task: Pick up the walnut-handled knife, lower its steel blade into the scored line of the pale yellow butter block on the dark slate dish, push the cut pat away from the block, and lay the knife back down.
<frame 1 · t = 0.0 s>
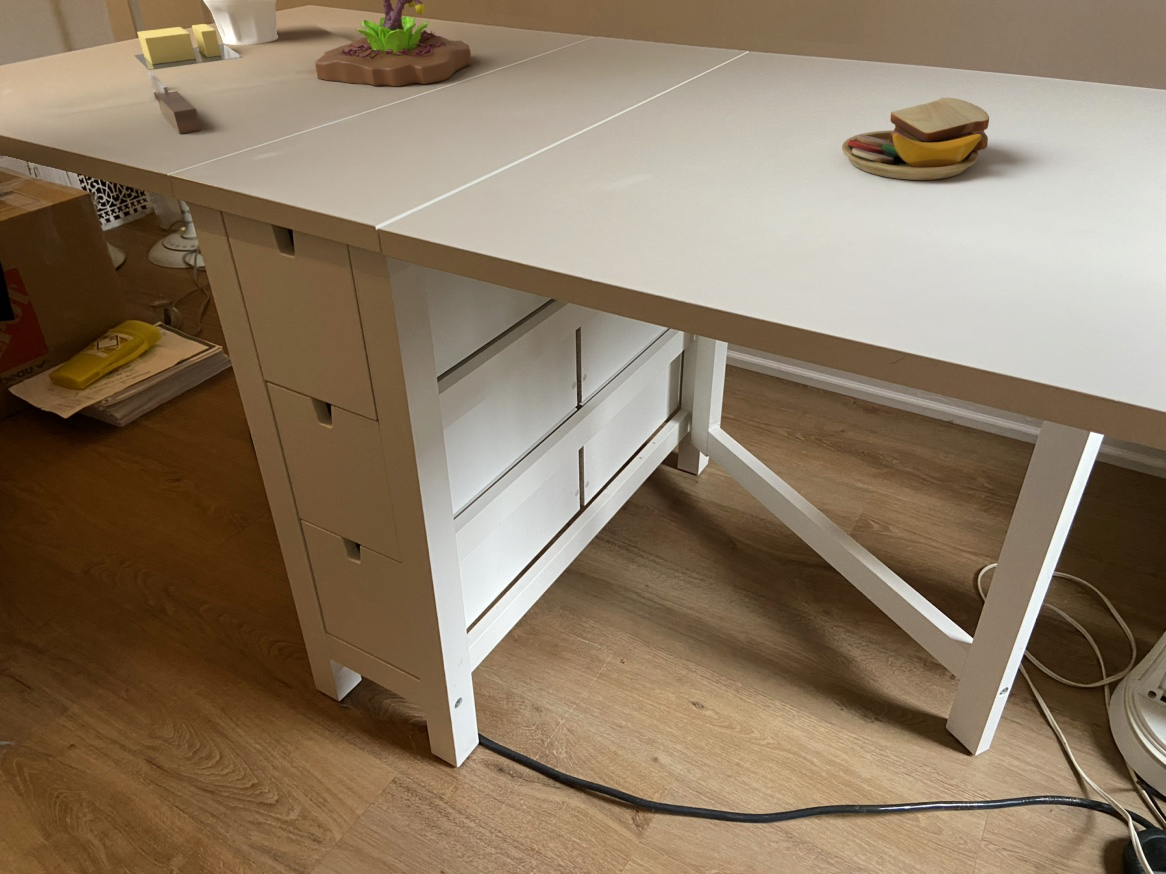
toy sandwich meal: (909, 162, 85), on the table
plant: (396, 70, 123), on the table
knife: (172, 113, 106), on the table
butter slice: (209, 53, 130), point 1 cm above the table, touching butter dish
butter: (170, 58, 127), point 1 cm above the table, touching butter dish
butter dish: (189, 63, 129), on the table
cup: (252, 47, 139), on the table
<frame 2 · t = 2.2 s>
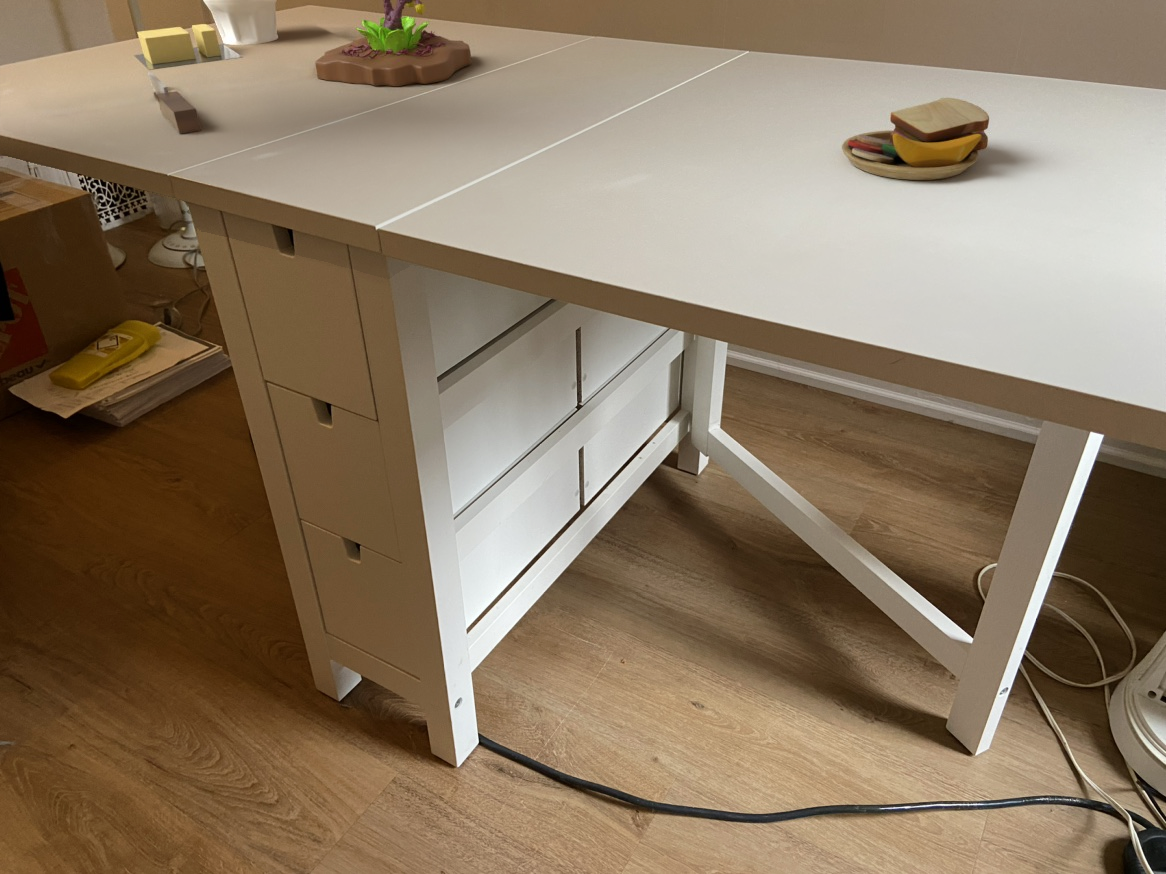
nothing on the table moved.
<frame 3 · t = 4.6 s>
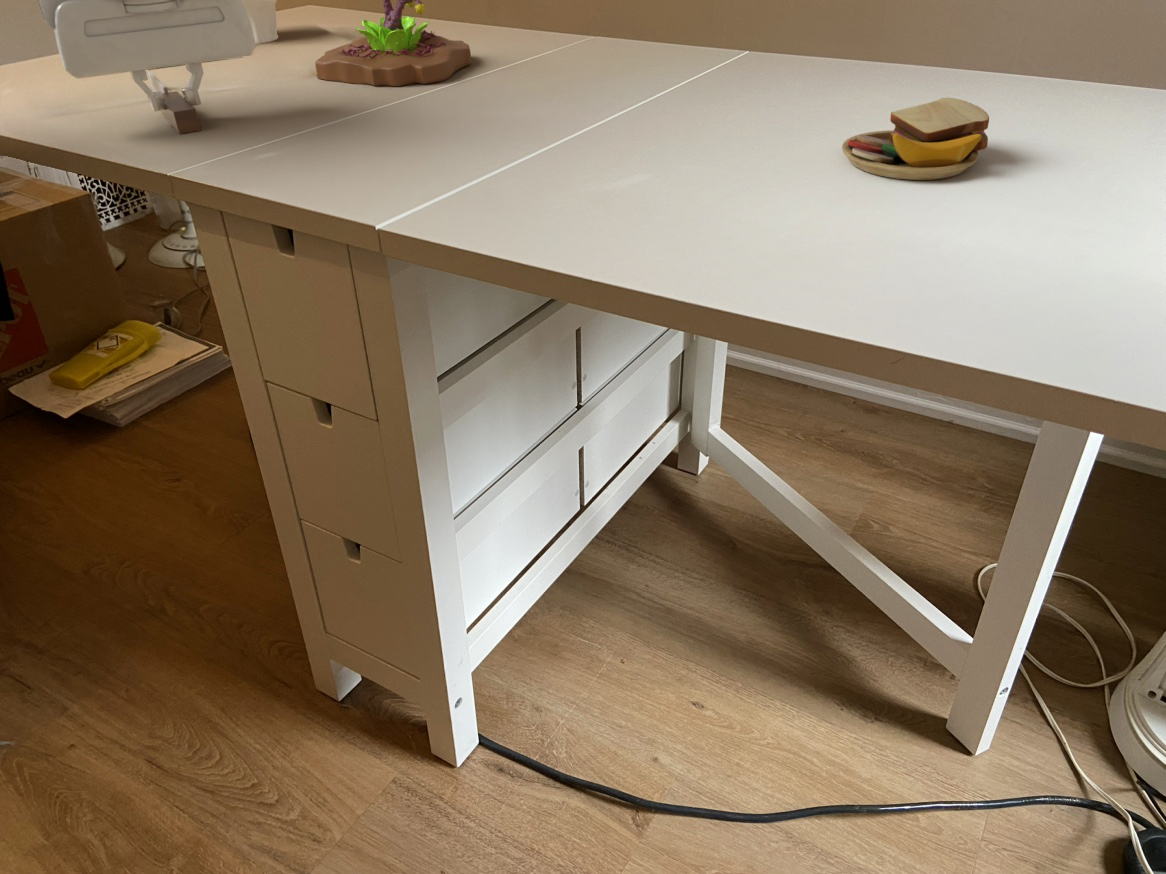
hand: (177, 107, 101), 2 cm above the table, tool pointing down, fingers closed on knife, 2 cm apart
knife: (172, 113, 106), on the table, touching gripper
everything else where it was.
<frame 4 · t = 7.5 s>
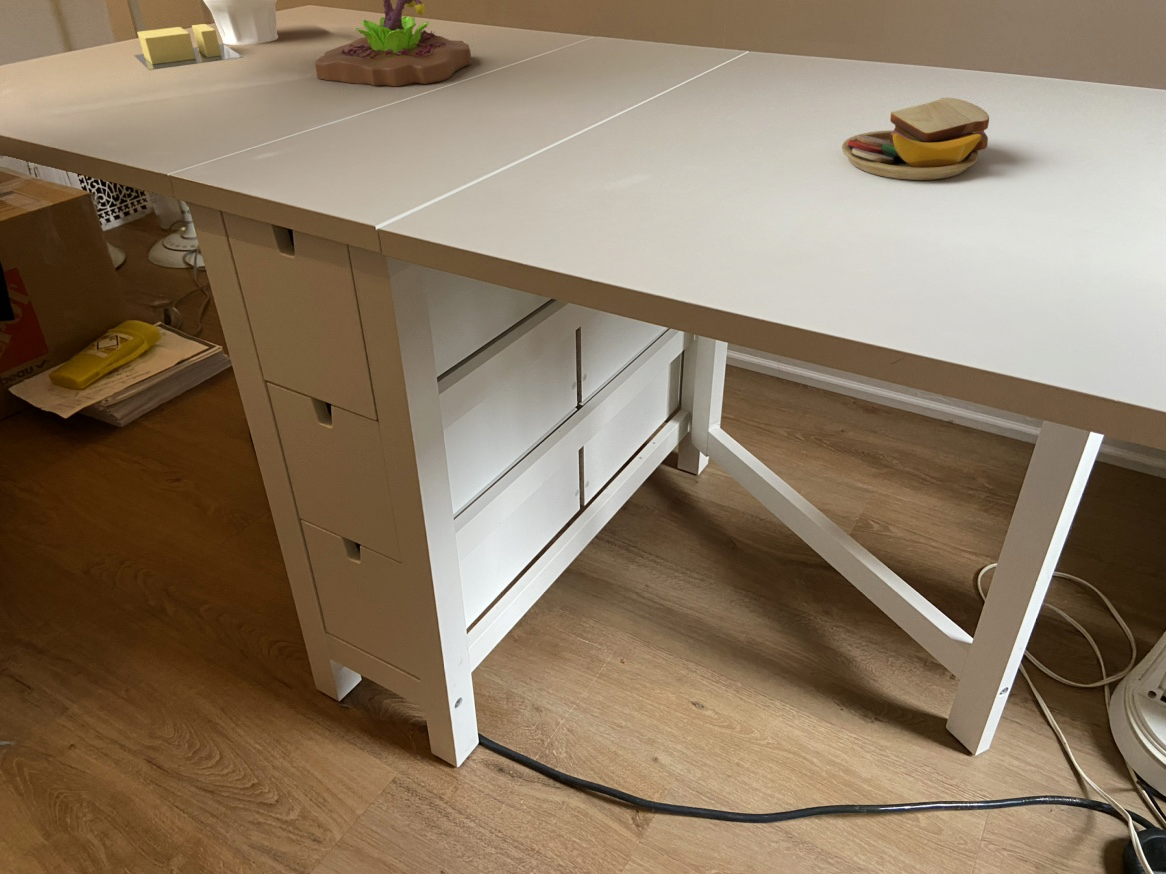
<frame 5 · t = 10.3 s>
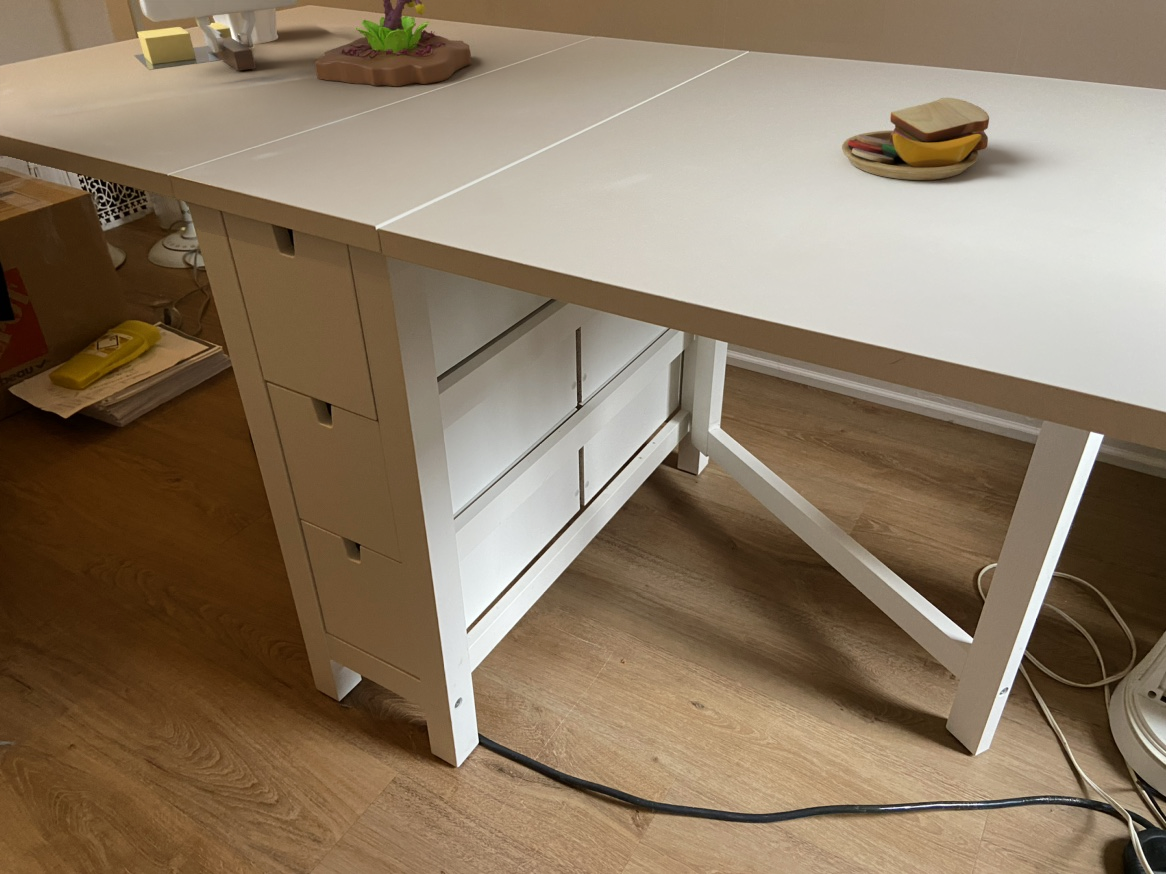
hand: (233, 49, 121), 3 cm above the table, tool pointing down, fingers closed on knife, 2 cm apart
knife: (225, 55, 126), point 1 cm above the table, touching butter slice, gripper
butter slice: (223, 51, 131), point 1 cm above the table, touching butter dish, knife
everything else where it was.
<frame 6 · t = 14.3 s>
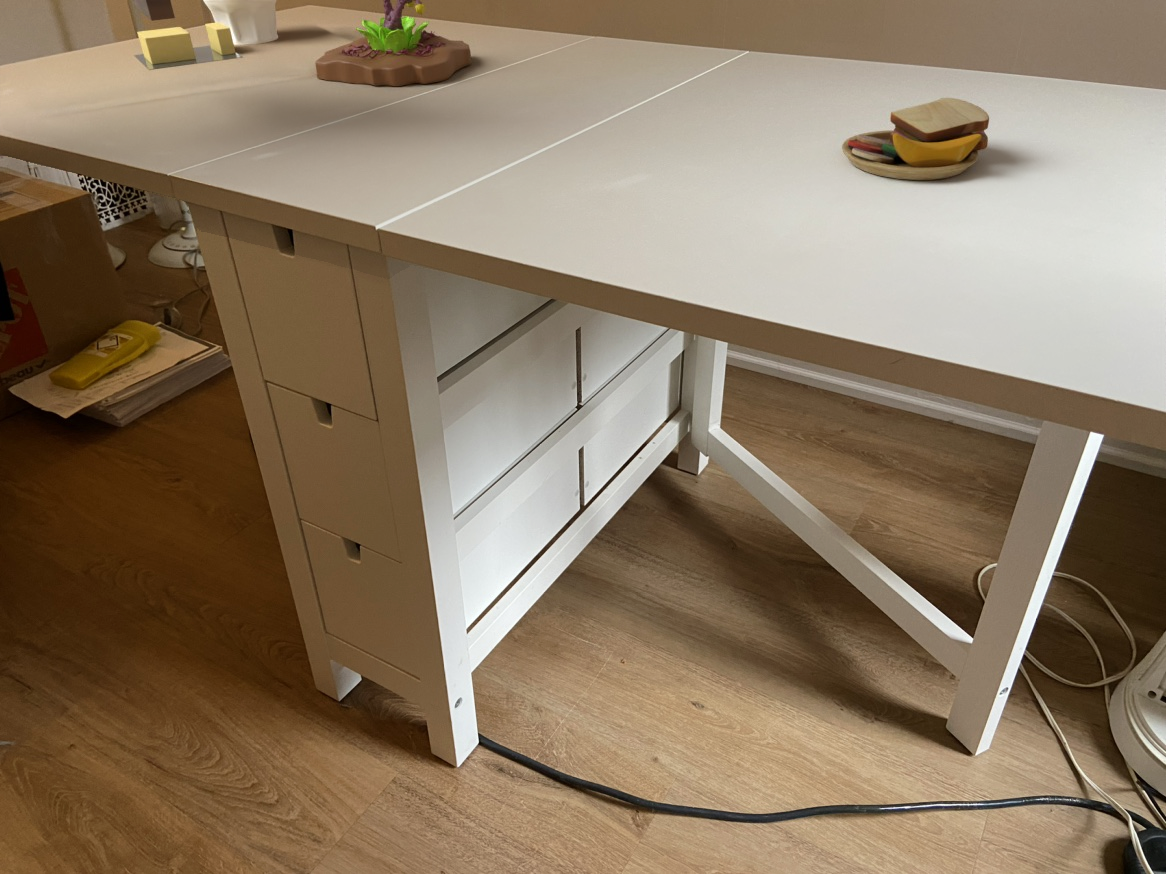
knife: (145, 5, 100), point 12 cm above the table, touching gripper
butter slice: (223, 51, 131), point 1 cm above the table, touching butter dish
everything else where it was.
when the fingers open (2 cm above the table, at t = 17.0 s): knife stays where it is, on the table.
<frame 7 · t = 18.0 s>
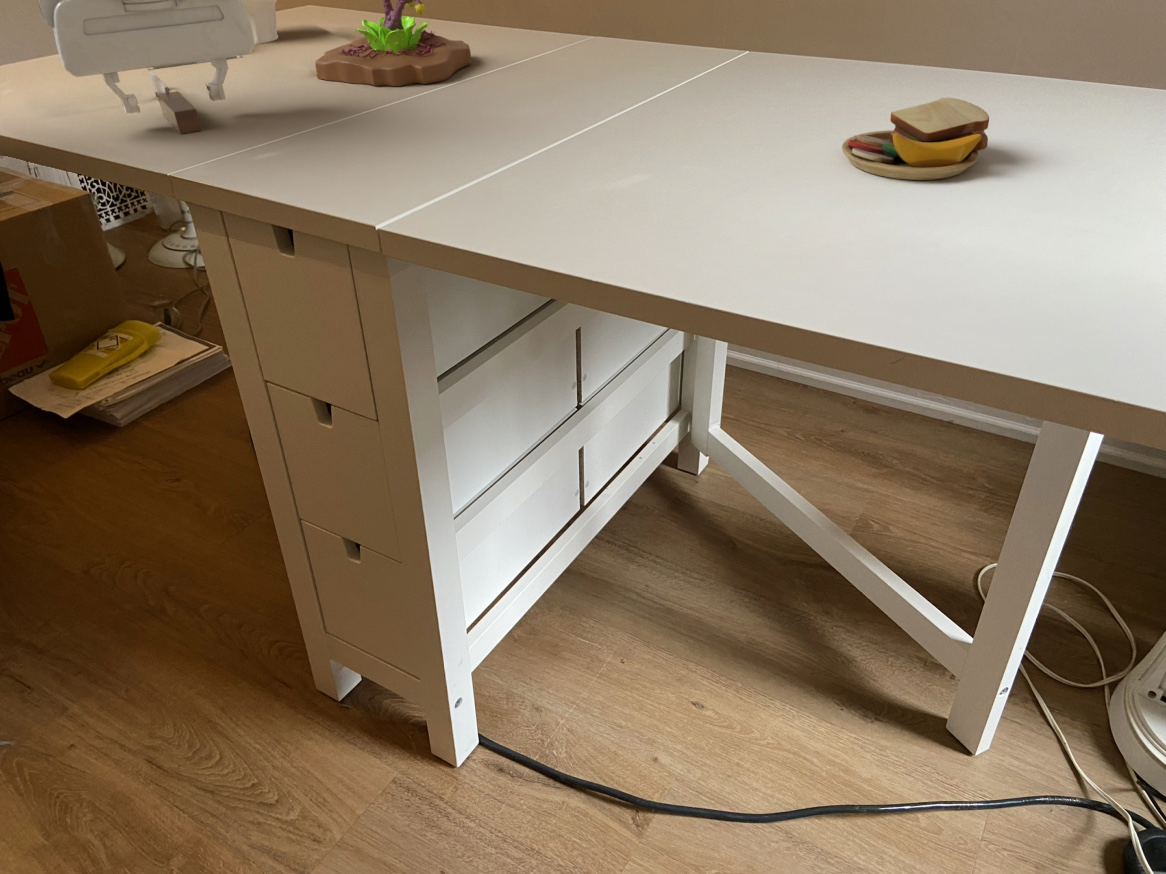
hand: (176, 106, 101), 2 cm above the table, tool pointing down, fingers open, 8 cm apart
knife: (173, 113, 106), on the table
everything else where it was.
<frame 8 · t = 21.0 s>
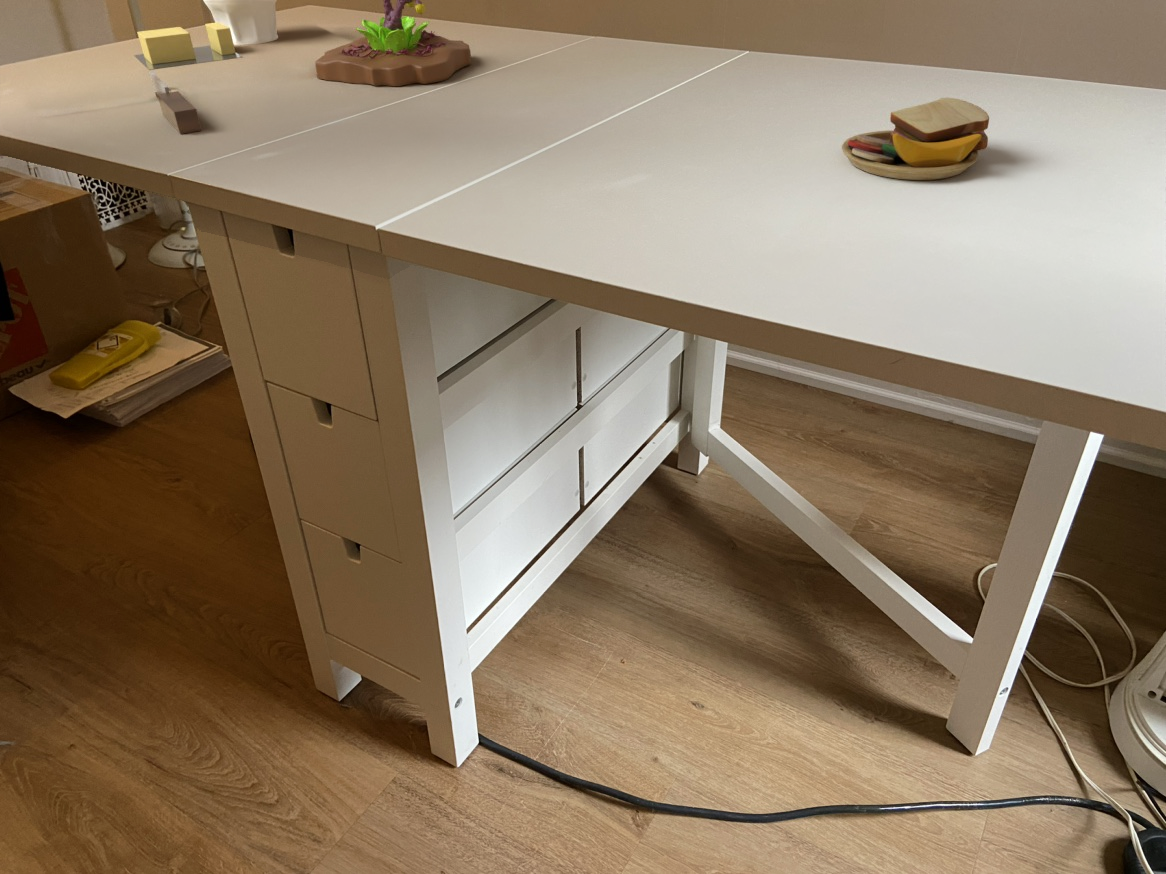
nothing on the table moved.
at the end: butter slice 1.7 cm from the target spot on the table beside the butter, resting on butter dish; butter slice moved 2.0 cm from its start; knife inside the target area (0.1 cm from its centre), on the table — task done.
